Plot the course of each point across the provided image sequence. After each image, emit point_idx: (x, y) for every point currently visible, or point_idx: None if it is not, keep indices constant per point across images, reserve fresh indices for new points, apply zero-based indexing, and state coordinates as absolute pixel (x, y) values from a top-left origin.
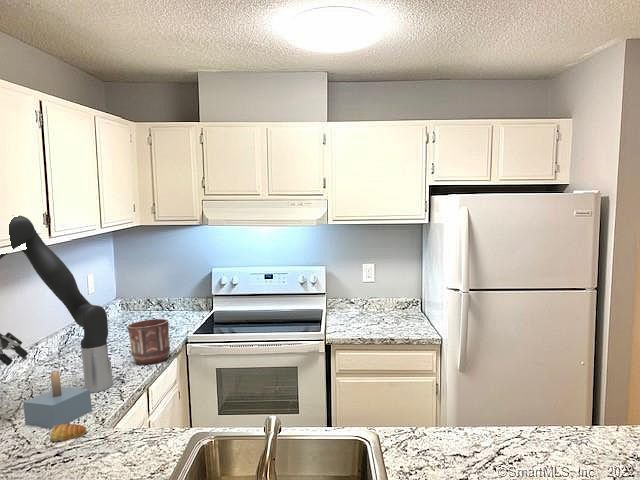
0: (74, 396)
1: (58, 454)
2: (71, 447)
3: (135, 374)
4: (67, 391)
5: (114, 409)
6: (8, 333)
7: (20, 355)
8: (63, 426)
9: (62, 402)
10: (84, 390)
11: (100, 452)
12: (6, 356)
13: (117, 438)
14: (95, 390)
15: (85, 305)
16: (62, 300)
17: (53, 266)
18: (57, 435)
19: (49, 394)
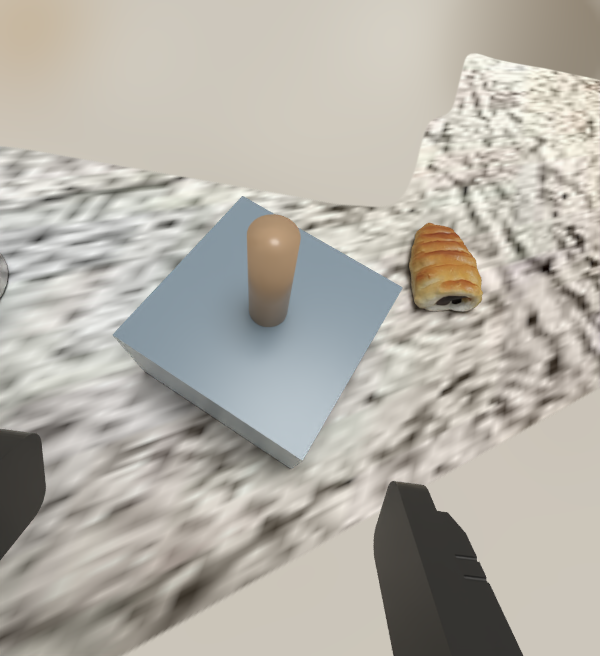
0: (309, 235)
1: (545, 266)
2: (510, 246)
3: None
4: (224, 279)
5: (261, 192)
6: None
7: (4, 548)
8: (460, 262)
9: (361, 266)
10: (247, 212)
11: (540, 182)
12: (459, 572)
13: (473, 160)
14: (1, 279)
15: None
16: None
17: None
18: (481, 280)
19: (232, 354)
